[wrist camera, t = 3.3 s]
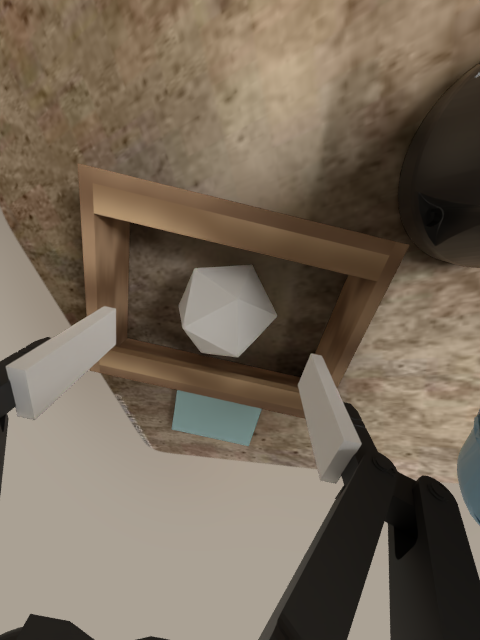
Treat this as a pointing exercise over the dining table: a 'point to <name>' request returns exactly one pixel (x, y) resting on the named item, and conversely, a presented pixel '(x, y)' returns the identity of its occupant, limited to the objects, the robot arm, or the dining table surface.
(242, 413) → the pad
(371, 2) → the dining table surface
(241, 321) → the die
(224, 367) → the wooden tray
